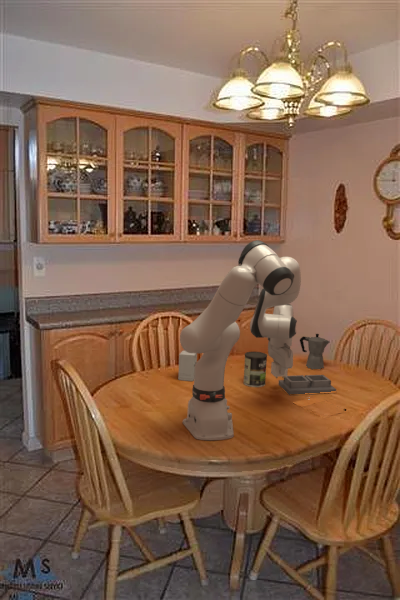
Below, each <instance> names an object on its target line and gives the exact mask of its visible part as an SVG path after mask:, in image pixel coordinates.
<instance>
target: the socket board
mask: <svg viewBox="0 0 400 600" xmlns="http://www.w3.org/2000/svg"><path fill="white" fill-rule="evenodd" d="M277 384H278V386H280V388H281V389H282V388H283V389H284V390H285V391H286V392H287V393H288V394H289V395H288V394H287V393H286V392H285V391H284V390H283V389H282V390H283V391H284V392H285V393H286V394H287V395H288V396H291V395H290V394H305V393H320V392H331V391H336V392H337V388H335V387H334V386H333V385H332V381H331V379H330V378H328V377H327V376H326V375H324V374H309V375H308V374H306V375H305V374H304V375H303V374H302V375H297V374H296V375H287V376H284V378H283V379H279V380H278V383H277Z"/></svg>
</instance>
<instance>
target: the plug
mask: <svg viewBox="0 0 400 600" xmlns="http://www.w3.org/2000/svg"><path fill="white" fill-rule="evenodd" d="M280 369H281V365H280V364H279V363H277V362H273V361H271V369H270V374H271V375H272V376H273V377H275V379H278V378H279V377H282V379H284V376H288V371H289V368H288V369H286V370H285V374H284V375H281V374H280V373H279V371H280Z"/></svg>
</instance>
